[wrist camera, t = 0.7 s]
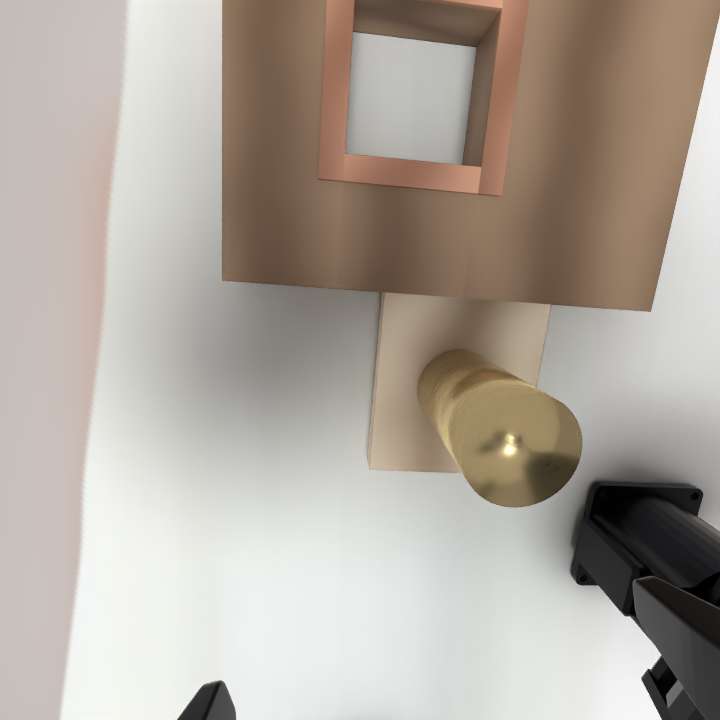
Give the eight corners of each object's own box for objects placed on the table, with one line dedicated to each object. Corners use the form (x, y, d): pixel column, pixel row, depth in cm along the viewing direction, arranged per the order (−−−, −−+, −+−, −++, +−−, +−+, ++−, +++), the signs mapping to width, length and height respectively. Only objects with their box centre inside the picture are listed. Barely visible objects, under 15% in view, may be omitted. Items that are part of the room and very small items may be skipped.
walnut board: (680, -14, 18) (741, -63, 15) (579, 466, 23) (611, 493, 20) (238, -78, 16) (221, -145, 14) (234, 453, 21) (220, 480, 19)
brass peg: (502, 351, 20) (593, 396, 13) (490, 428, 20) (569, 509, 14) (421, 346, 19) (470, 389, 12) (413, 425, 20) (454, 505, 13)
